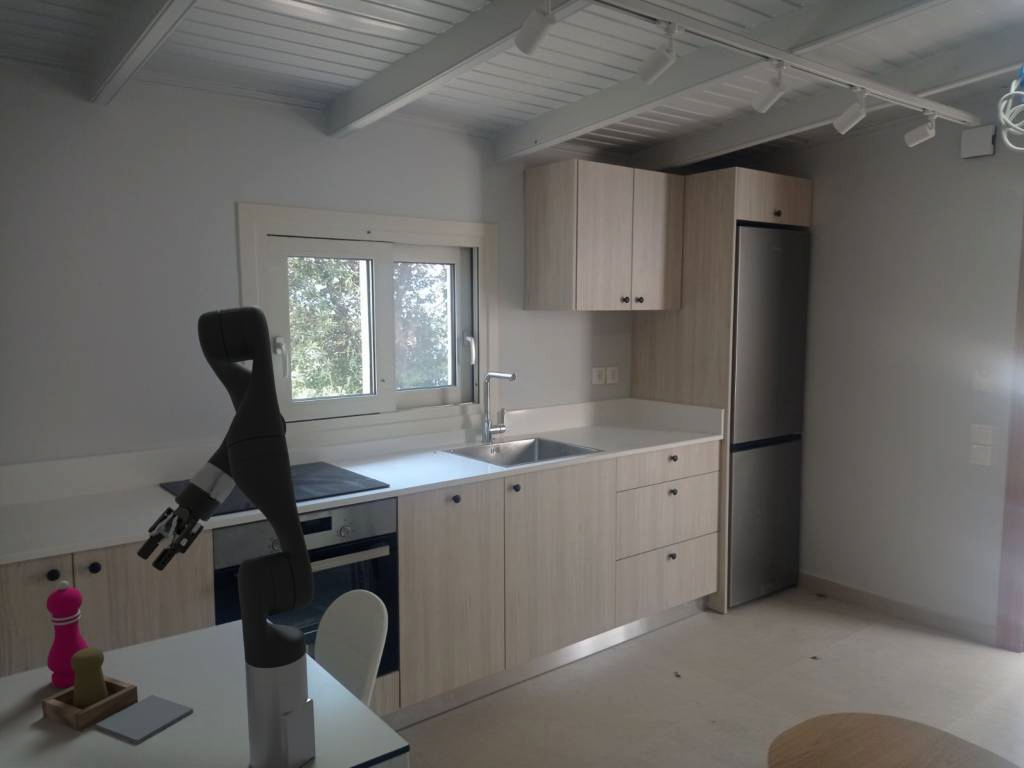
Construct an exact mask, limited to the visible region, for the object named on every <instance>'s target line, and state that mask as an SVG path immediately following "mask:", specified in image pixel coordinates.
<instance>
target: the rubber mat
mask: <svg viewBox="0 0 1024 768" xmlns="http://www.w3.org/2000/svg"><path fill="white" fill-rule="evenodd" d="M193 712H194V709H193V708H192V707H189V706H187V705H183V704H180V703H178V702H174V701H171V700H168V699H165V698H163V697H159V696H156V695H153V694H150V695H148V696H147V697H145V698H143V699H141V700H138V702H137V703H135V704H133V705H131V706H129V707H127V708H125V709H123V710H121V711H119V712H118V713H116V714H114V715H112V716H110V717H108V718H106V719H104V720H102V721H100V722H98V723H96V724H95V729H98V730H101V731H104V732H107V733H109V734H111V735H114V736H117V737H119V738H122V739H124V740H127V741H130V742H133V743H135V744H137V745H138V744H139V743H142V742H143V741H145V740H146V739H148V738H150V737H152V736H154V735H156V734H157V733H159V732H160V731H162V730H164V729H165V728H167V727H170V726H171V725H173V724H174V723H176V722H178V721H179V720H182V719H183V718H185V717H186V716H188V715H190V714H192V713H193Z"/></svg>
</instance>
